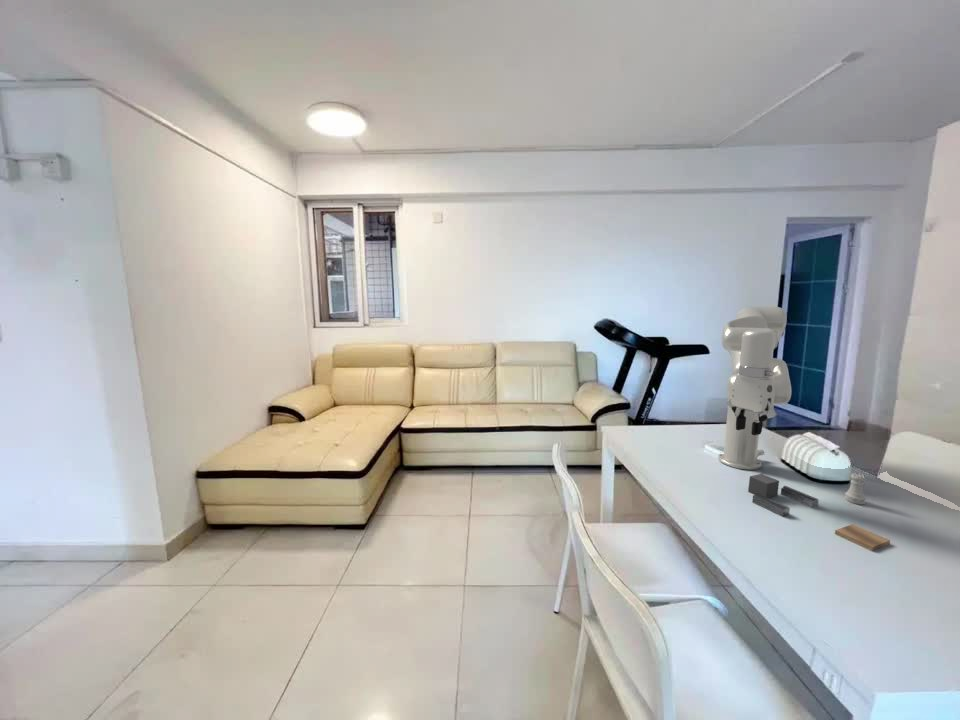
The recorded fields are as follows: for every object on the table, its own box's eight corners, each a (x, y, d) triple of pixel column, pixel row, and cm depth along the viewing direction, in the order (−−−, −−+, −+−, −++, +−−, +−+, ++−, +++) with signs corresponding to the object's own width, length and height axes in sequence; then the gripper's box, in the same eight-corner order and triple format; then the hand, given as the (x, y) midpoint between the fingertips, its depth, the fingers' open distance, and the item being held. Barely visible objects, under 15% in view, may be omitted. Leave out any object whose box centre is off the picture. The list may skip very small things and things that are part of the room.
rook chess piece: (861, 499, 110) (865, 472, 109) (868, 506, 106) (873, 479, 105) (840, 495, 112) (844, 469, 111) (847, 503, 108) (851, 476, 107)
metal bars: (786, 492, 114) (787, 485, 114) (817, 506, 107) (818, 498, 106) (752, 502, 109) (753, 494, 109) (782, 516, 102) (783, 508, 101)
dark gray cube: (759, 489, 117) (761, 473, 116) (777, 497, 112) (779, 480, 111) (748, 492, 115) (749, 476, 114) (765, 500, 110) (767, 483, 109)
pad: (852, 527, 96) (852, 524, 96) (889, 544, 90) (890, 540, 90) (834, 533, 94) (835, 530, 94) (871, 551, 88) (872, 547, 87)
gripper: (793, 376, 107) (786, 439, 110) (735, 366, 123) (730, 422, 125) (775, 378, 104) (768, 443, 107) (718, 368, 120) (713, 425, 123)
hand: (748, 431), depth 116 cm, fingers open, 4 cm apart
